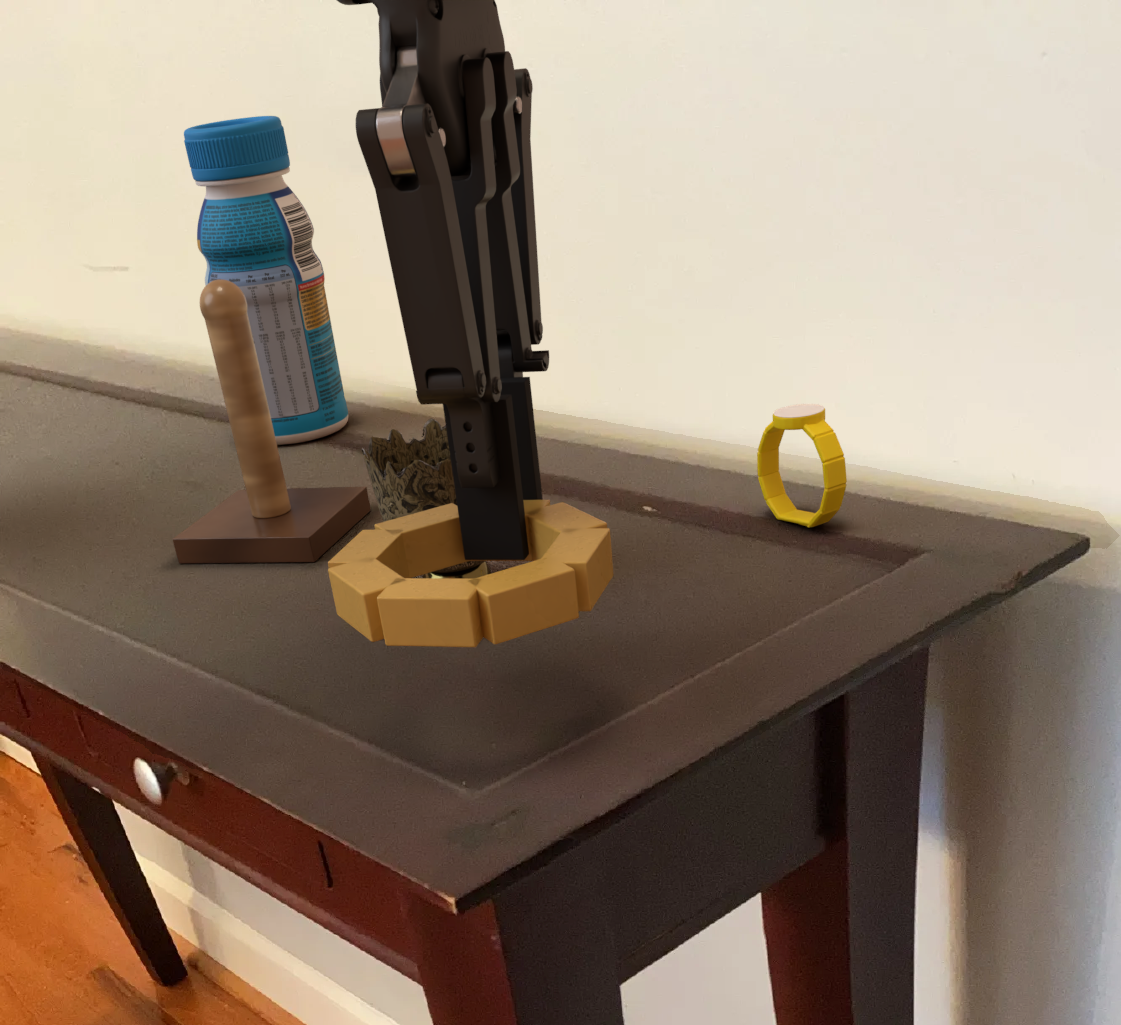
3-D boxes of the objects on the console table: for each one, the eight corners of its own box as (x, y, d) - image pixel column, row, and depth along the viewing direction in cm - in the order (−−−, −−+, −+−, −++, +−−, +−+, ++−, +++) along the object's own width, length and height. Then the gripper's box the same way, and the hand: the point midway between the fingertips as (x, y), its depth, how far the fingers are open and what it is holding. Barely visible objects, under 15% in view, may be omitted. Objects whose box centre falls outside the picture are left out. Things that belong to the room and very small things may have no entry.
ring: (301, 644, 54) (290, 596, 53) (400, 545, 62) (392, 501, 61) (566, 650, 51) (561, 598, 50) (633, 544, 59) (630, 498, 58)
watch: (856, 527, 74) (859, 412, 71) (817, 540, 73) (818, 425, 70) (785, 504, 79) (784, 395, 75) (747, 516, 78) (745, 406, 74)
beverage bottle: (264, 455, 99) (190, 133, 87) (227, 434, 105) (153, 130, 93) (369, 428, 102) (312, 113, 90) (327, 409, 108) (268, 111, 96)
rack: (178, 563, 82) (105, 302, 73) (244, 512, 89) (184, 268, 80) (314, 562, 79) (255, 292, 71) (371, 510, 86) (323, 257, 78)
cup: (415, 630, 69) (386, 469, 65) (373, 587, 75) (343, 436, 70) (548, 594, 71) (530, 436, 67) (497, 555, 77) (477, 406, 72)
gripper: (452, -175, 39) (540, 614, 53) (584, -161, 50) (627, 488, 64) (218, -139, 41) (364, 612, 55) (395, -133, 52) (478, 490, 66)
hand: (506, 544), depth 60 cm, fingers closed on ring, 2 cm apart
